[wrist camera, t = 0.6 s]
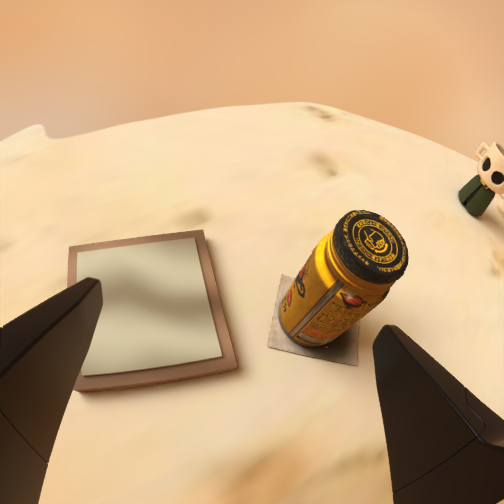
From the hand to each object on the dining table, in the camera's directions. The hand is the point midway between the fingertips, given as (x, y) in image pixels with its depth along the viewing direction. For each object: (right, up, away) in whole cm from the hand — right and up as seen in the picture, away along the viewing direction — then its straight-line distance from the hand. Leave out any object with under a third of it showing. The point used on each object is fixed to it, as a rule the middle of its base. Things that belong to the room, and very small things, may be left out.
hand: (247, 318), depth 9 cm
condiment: (+6, -4, +18) cm, 20 cm away
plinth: (-9, -3, +16) cm, 18 cm away
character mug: (+40, +10, +36) cm, 55 cm away
